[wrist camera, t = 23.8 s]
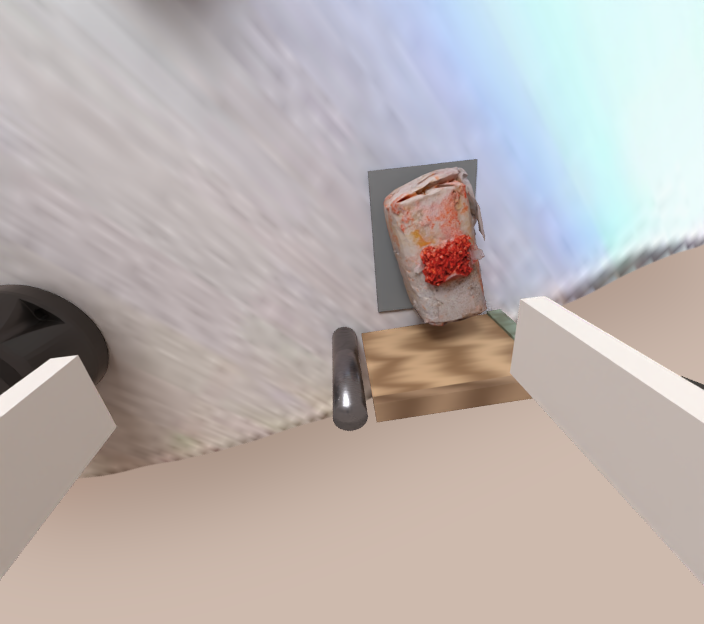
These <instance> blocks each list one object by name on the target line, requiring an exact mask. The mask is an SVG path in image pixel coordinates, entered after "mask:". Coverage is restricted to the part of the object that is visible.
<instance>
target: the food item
mask: <svg viewBox="0 0 704 624" xmlns="http://www.w3.org/2000/svg"><path fill="white" fill-rule="evenodd" d="M467 176H468V174H467V173H466V172H465V170H464V169H462V168H458V167H454V168H445V169H439V170H435V171H432V172H429V173H427V174H424V175H422V176H420V177H418V178H416V179H414V180H412V181H410V182H408V183H407V184H405V185H403V186H401V187H399V188H397V189H395V190H394V191H392V192H391V193H390V194H389V195H388V196H387V197H386V198H385V201H384V213H385V219H386V224H387V228H388V232H389V236H390V239H391V243H392V246H393V250H394V254H395V257H396V259H397V261H398V265H399V269H400V272H401V275H402V277H403V282H404V285H405V288H406V291H407V294H408V297H409V299H410V302H411V304H412V305H413V307H414V308H415V310H416V311H417V312H418V314H419V315H420V317H421V319H423V320H424V323H429V324H430V325H433V326H444V325H446V324H447V323H451V322H456V321H462V320H465V319H468V318H470V317H473V316H476V315H478V314H480V313H482V312H484V311H485V310H486V309H487V307H486V300H485V297H484V291H483V285H482V279H481V270H480V266H479V261H478V259H479V260H480V259H481V258H483V257H484V254H483V251H482V250H481V249H478V247H477V245H476V239H475V235H476V233H475V230H474V226H475V223H476V221H477V220H478V224H479V231H480V232H481V234H482V235H483V238H484V240H485V234H484V230H483V223H482V217H481V212H480V207H479V205H478V203H477V201H476V199H475V196H474V193H473V189H472V186H471V184H470V182H469V180H468V179H467ZM476 219H477V220H476ZM481 255H483V256H481Z"/></svg>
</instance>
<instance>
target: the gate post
mask: <svg viewBox="0 0 704 624" xmlns="http://www.w3.org/2000/svg"><path fill="white" fill-rule="evenodd" d="M332 358H333V421H334V423H335V425H336V426H337V427H338V428H340V429H343V430H347V431H351V430H356V429H359V428H361V427H362V426H363V425H364V424H365V423H366V421H367V418H368V415H367V408H366V401H365V394H364V387H363V380H362V373H361V366H360V359H359V353H358V346H357V339H356V334H355V332H354V331H353V330H352V329H351V328H348V327H341V328H338V329H337V330H336V331H335V332H334V333H333V336H332Z"/></svg>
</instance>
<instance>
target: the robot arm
mask: <svg viewBox="0 0 704 624" xmlns="http://www.w3.org/2000/svg"><path fill="white" fill-rule="evenodd" d="M107 366H108V351H107V347H106V344H105V341H104V339H103V337H102V335H101V333H100V331H99V330H98V328H97V327H96V326H95V324H94V323H93V322H92V321H91V320H90V319H89V318H88V317H87V316H86V315H85V314H84V313H83V312H82V311H81V310H80V309H78V308H77V307H76V306H74V305H73V304H71V303H70V302H68V301H67V300H65V299H63V298H61V297H59V296H57V295H55V294H53V293H50V292H48V291H45V290H42V289H38V288H34V287H30V286H24V285H2V286H0V579H1V578H2V577H3V576H4V575H5V573H6V572H7V571H8V569H9V568H10V567H11V565H12V564H13V563H14V561H15V560H16V559H17V557H18V556H19V554H20V553H21V552H22V551H23V549H24V548H25V547H26V546H27V544H28V543H29V542H30V540H31V539H32V538H33V536H34V535H35V534H36V532H37V531H38V530H39V529H40V527H41V526H42V524H43V523H44V522H45V521H46V519H47V518H48V517H49V515H50V514H51V513H52V511H53V510H54V509H55V508H56V506H57V505H58V504H59V502H60V501H61V500H62V498H63V497H64V496H65V494H66V493H67V492H68V490H69V489H70V488H71V487H72V485H73V484H74V483H75V481H76V480H77V479H78V477H79V476H80V475H81V473H82V472H83V471H84V469H85V468H86V467H87V466H88V464H89V463H90V462H91V460H92V459H93V458H94V456H95V455H96V454H97V452H98V451H99V450H100V448H101V447H102V446H103V445H104V443H105V442H106V441H107V439H108V438H109V437H110V435H111V434H112V433H113V431H114V430H115V429H116V427H117V426H116V424H115V422H114V420H113V419H112V417H111V415H110V413H109V411H108V409H107V407H106V406H105V404H104V402H103V400H102V398H101V396H100V395H99V393H98V391H97V389H96V387H95V385H96V384H97V383H98V382H99V381H100V380H101V379H102V378H103V376H104V374H105V372H106V370H107ZM510 374H511V375H512V376H513V377H514V378H515V379H516V380H517V381H518V382H519V384H520V385H521V386H522V387H523V388H524V389H525V390H526V391H527V392H528V393H529V395H530V396H531V397H532V398H533V399H534V400H535V401H536V402H537V403H538V404H539V406H540V407H541V408H542V409H543V410H544V411H545V412H546V413H547V414H548V415H549V416H550V418H551V419H552V420H553V421H554V422H555V423H556V424H557V425H558V426H559V427H560V428H561V430H562V431H563V432H564V433H565V434H566V435H567V436H568V437H569V438H570V439H571V441H572V442H573V443H574V444H575V445H576V446H577V447H578V448H579V449H580V450H581V452H582V453H583V454H584V455H585V456H586V457H587V458H588V459H589V460H590V461H591V463H592V464H593V465H594V466H595V467H596V468H597V469H598V470H599V471H600V473H601V474H602V475H603V476H604V477H605V478H606V479H607V480H608V481H609V482H610V484H611V485H612V486H613V487H614V488H615V489H616V490H617V491H618V492H619V493H620V494H621V495H622V497H623V498H624V499H625V500H626V501H627V502H628V503H629V504H630V505H631V506H632V508H633V509H634V510H635V511H636V512H637V513H638V514H639V515H640V516H641V518H642V519H643V520H644V521H645V522H646V523H647V524H648V525H649V526H650V527H651V529H652V530H653V531H654V532H655V533H656V534H657V535H658V536H659V537H660V538H661V539H662V541H663V542H664V543H665V544H666V545H667V546H668V547H669V548H670V549H671V551H672V552H673V553H674V554H675V555H676V556H677V557H678V558H679V559H680V560H681V561H682V563H683V564H684V565H685V566H686V567H687V568H688V569H689V570H690V571H691V572H692V574H693V575H694V576H695V577H696V578H697V579H698V580H699V581H700V582H701V583H702V585H703V586H704V385H703V384H701V383H698V382H695V381H693V380H690V379H688V378H685V377H683V376H679V375H677V374H676V373H674V372H672V371H670V370H669V369H667V368H665V367H664V366H662V365H660V364H659V363H657V362H655V361H653V360H652V359H650V358H648V357H647V356H645V355H643V354H642V353H640V352H638V351H637V350H635V349H633V348H632V347H630V346H628V345H626V344H625V343H623V342H621V341H620V340H618V339H616V338H615V337H613V336H611V335H610V334H608V333H606V332H604V331H602V330H601V329H599V328H598V327H596V326H594V325H593V324H591V323H589V322H588V321H586V320H584V319H582V318H581V317H579V316H577V315H576V314H574V313H572V312H570V311H569V310H567V309H565V308H564V307H562V306H560V305H559V304H557V303H555V302H554V301H552V300H550V299H549V298H547V297H545V296H541V297H533V298H525V299H520V305H519V312H518V319H517V326H516V333H515V340H514V347H513V354H512V361H511V368H510Z"/></svg>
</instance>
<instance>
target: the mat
mask: <svg viewBox="0 0 704 624" xmlns="http://www.w3.org/2000/svg"><path fill="white" fill-rule="evenodd" d="M454 167H458V168H462V169H464V170H465V172H466V173H467V174H468V176H467V179H468V180H469V182H470V184H471V186H472V189H473V193H474V196H475V189H476V172H477V159H474V160H465V161H456V162H447V163H438V164H429V165H421V166H412V167H403V168H394V169H385V170H376V171H368V178H369V192H370V206H371V220H372V233H373V247H374V261H375V274H376V288H377V302H378V312H382V311H391V310H399V309H408V308H414V307H413V305H412V304H411V302H410V299H409V297H408V294H407V291H406V288H405V285H404V282H403V277H402V275H401V272H400V269H399V265H398V261H397V259H396V257H395V254H394V250H393V246H392V243H391V239H390V236H389V232H388V228H387V224H386V219H385V213H384V201H385V198H386V197H387V196H388V195H389V194H390V193H391V192H392V191H394V190H395V189H397V188H399V187H401V186H403V185H405V184H407V183H408V182H410V181H412V180H414V179H416V178H418V177H420V176H422V175H424V174H427V173H429V172H432V171H435V170H439V169H445V168H454Z"/></svg>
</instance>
